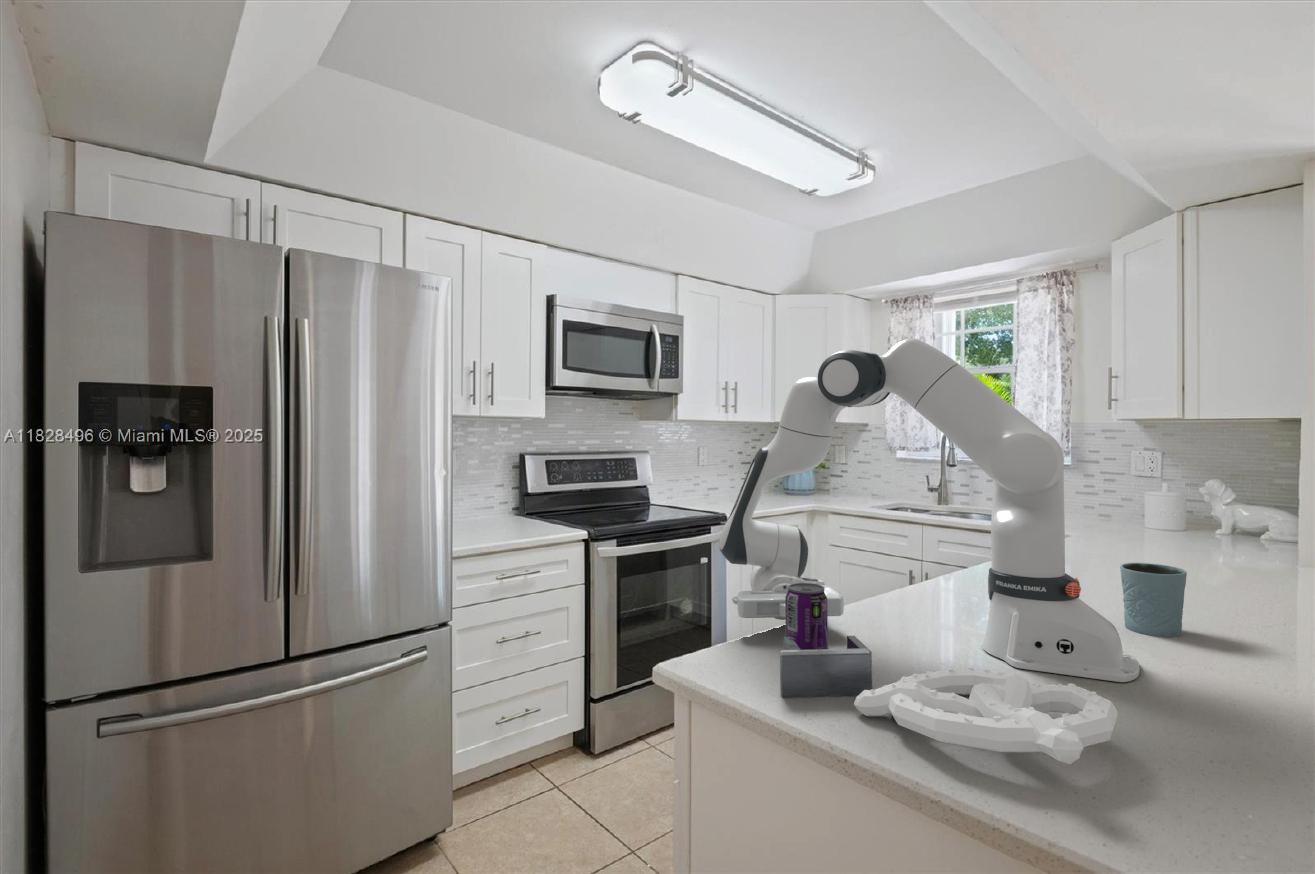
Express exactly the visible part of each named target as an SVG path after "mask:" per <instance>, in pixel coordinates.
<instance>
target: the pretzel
mask: <svg viewBox="0 0 1315 874" xmlns="http://www.w3.org/2000/svg"><path fill="white" fill-rule="evenodd" d="M991 670H992V669H985V670H979V669H975V667H973V666H972V667H967V669H955V668H954V667H951V668H950V667H949V668H948V669H941V670H940V669H939V670H936V671H935V670H934V671H932V670H931V669H926V672H925V673H912V674H911V675H909V676H902V677H901V678H900V679H899V680H898V681H896V682H893V683H890V684H885V685H884V684H883V685H882V687H878V688H875V689H873V688H872V689H871V690H864V691H863V692H862V693H860V694H859V695H858V696H855V699H854V702H853V705H854V707H855V708H856V710H857V711H859V713H861V714H862V715H864V716H865V717H888V716H890V715H892V716H893V719H894V721H895V723H897V726H901V727H902V728H903V727H904V728H906V729H908V730H911V731H913V732H915V733H918V734H921V735H923V736H926V737H929V739H933V740H936V741H938V742H941V743H945V744H951V745H957V746H962V747H968V748H974V749H979V750H980V749H981V750H986V751H992V752H999V753H1045V754H1046V755H1048V756H1050V757H1051V758H1054V759H1055V760H1056V761H1059V762H1061V763H1064V764H1066V765H1067V764H1068V765H1071V764H1074V762H1076V761H1078V760H1079V759H1080V758H1081V754H1082V752H1083V751H1084V748H1085V747H1089V746H1093V745H1096V744H1101V743H1104V742H1107V741H1110V740H1111V737H1112V734H1113V732H1114V729H1115V725H1116V721H1117V717H1118V714H1119V712H1118V710H1117V708H1116V707H1115V705H1114V704H1113V702H1112V701H1111V700H1109V699H1107V698H1105V697H1102V696H1101V695H1098V694H1097V692H1096V691H1090V690H1088V689H1085V688H1083V687H1082V686H1081V687H1080V686H1077V685H1076V684H1075V683H1070V682H1069V683H1068V684H1067V685H1064V684H1063V683H1060V682H1059V683H1058V684H1050V683H1049V684H1038V683H1036V684H1035V683H1034V686H1031V685H1030V683H1029V681H1028V680H1027V679H1026V678H1024V677H1021V676H1020V675H1019V676H1018V675H1016V674H1006V673H1004V672H1002V671H1001V672H1000V671H998V672H992V671H991ZM961 695H962V696H961ZM964 695H965V696H966V695H967V696H969V697H968V698H967V697H964ZM1052 712H1053V713H1060V714H1061V717H1057V718H1052V717H1051V716H1050V714H1048V713H1052Z"/></svg>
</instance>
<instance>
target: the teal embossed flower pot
mask: <svg viewBox="0 0 1315 874" xmlns="http://www.w3.org/2000/svg"><path fill="white" fill-rule="evenodd" d="M1119 568H1120V569H1119V570H1120V579H1121V586H1122V595H1123V598H1122V600H1123V608H1124V611H1123V612H1124V617H1123V619H1124V626H1125V629H1127V630H1129V631H1132V632H1134V633H1138V634H1142V635H1146V636H1151V637H1152V636H1153V637H1158V638H1177V637H1179V636H1181V635H1182V629H1183V615H1184V614H1183V613H1184V610H1183V609H1184V602H1185V588H1186V584H1187V575H1188V573H1187V570H1185V569H1183V568H1181V567H1176V566H1171V565H1166V564H1158V563H1150V562H1126V563H1122V564H1120V566H1119Z"/></svg>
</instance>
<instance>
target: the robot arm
mask: <svg viewBox="0 0 1315 874" xmlns="http://www.w3.org/2000/svg"><path fill="white" fill-rule="evenodd" d="M890 394H894V395H896V396H898V397H899V398H901V399H902V400H903V401H905V402H906V403H907V404H908V405H909V406H910V407H912V408H913V409H914V410H915V411H916V412H917V413H919V414H920V415H921V416H922V417H923V418H925V419H926V420H927V421H928V422H930V423H931V424H932V425H933V426H934V427H935V428H936V429H937V430H939V431H940V432H941V433H942V434H944V436H946V438H948V439H949V440H950V441H951V442H952V443H954V444H955V445H956V447H958V449H960V450H961V451H962V453H964V454H965V455H966V456H967V457H968V458H969V459H970V460H971V461H972V462H973V463H974V464H975V465H977V466H978V467H979V468H980V469H981V470H982V471H983V472H985V474H987V476H989V477H990V478H991V479H992V494H991V495H992V499H991V517H990V541H991V542H990V551H991V554H990V558H991V566H990V568H989V569H988V574H987V595H988V599H989V600H990V601H989V603H990V604H989V613H988V618H987V625H986V630H985V633H984V637H983V639H982V640H983V641H982V643H981V648H982V649H983V650H984V651H985V652H986V653H987V654H990V655H991V656H994V657H996V658H998V659H1001V660H1003V661H1005V662H1006V663H1007V664H1009V665H1010V666H1012V667H1014V668H1017V669H1022V670H1029V671H1037V672H1044V673H1051V674H1052V673H1053V674H1058V675H1067V676H1073V677H1080V678H1081V677H1082V678H1087V679H1095V680H1103V681H1110V682H1117V683H1126V682H1131V681H1133V680H1136V679H1137V678H1138V677H1139V675H1140V671H1141V670H1140V662H1139V661H1138V659H1137V658H1136V657H1135V656H1133V655H1132V654H1130V653H1128V652H1126V651H1123V645H1122V640H1121V637H1120V633H1119V632H1118V630H1117V628H1116V626H1115V625H1114V624H1113V623H1112V622H1111V621H1110V620H1109V619H1108V618H1106V617H1105V616H1104V615H1102V614H1101V613H1099V612H1098V611H1097V610H1096V609H1094V608H1093V607H1091V606H1090V605H1089V604H1087V602H1085V601H1083V600H1082V599H1081V598H1080V596H1081V595H1080V594H1081V591H1082V587H1081V586H1080V584H1081V583H1080V581H1079V579H1078V578H1077V577H1075V578H1074V577H1073V576H1071V575H1070V574H1068V573H1066V544H1065V543H1066V537H1065V535H1066V534H1065V533H1066V532H1065V530H1066V529H1065V528H1066V527H1065V491H1064V490H1065V484H1064V483H1065V478H1064V477H1065V474H1064V472H1065V471H1064V470H1065V469H1064V468H1065V467H1064V466H1065V465H1064V464H1065V457H1064V453H1063V449H1062V447H1061V445H1060V443H1059V442H1058V441H1057V439H1056V438H1055V437H1054V436H1053V435H1051V434H1049V433H1048V432H1047V431H1045V430H1043V429H1042V428H1041V427H1039V426H1038V425H1037V424H1036V423H1034V422H1033V421H1032V420H1030V419H1029V418H1028V417H1027V416H1025V415H1024V414H1023V413H1022V412H1021V411H1020V410H1018V409H1017V408H1015V407H1014V406H1013V405H1012V404H1010V403H1009V402H1008V401H1007V400H1005V399H1004V398H1003V397H1001V395H999V394H998V393H997V392H996V391H994V390H993V389H992V388H990V387H989V386H988V385H986V384H985V383H984V382H982V381H981V380H980V379H979V378H977V376H975V375H974V374H972V373H971V372H970V371H969V370H967V369H966V368H965V367H964V366H963V365H961V364H959V362H956V361H955V360H954V359H953V358H952V357H950V356H949V355H947V354H946V353H944V352H943V351H941V350H939V349H938V348H936V347H934V346H932V344H931V345H930V344H929V343H926V342H924V341H923V340H920V339H918V338H912V337H910V338H906V339H905V338H904V339H903V340H900V341H898V342H897V343H895V344H894V345H893V346H891V348H889V350H888V351H887V352H886V353H883V354H882V355H879V354H877V353H873V352H868V351H864V350H855V349H844V350H840V351H836V352H835V353H832V354H831V355H829V356H828V357H827V358H826V359H824V360H823V362H822V363H821V365H820V367H819V369H818V372H817V376H816V377H815V376H807V377H806V376H805V377H802V378H800V379H798V380H796V381H794V383H793V384H792V386H791V388H790V391H789V393H788V395H787V398H786V401H785V402H784V406H783V409H782V412H781V416H780V420H779V424H778V429H777V432H776V433H775V435H774V437H773V438H772V440H771V441H770V443H769V444H767V445H766V446H763V447H760V448H759V449H758V451H757V452H756V454H755V455H754V457H753V459H752V460H751V464H750V466H749V468H748V470H747V472H746V475H745V478H744V480H743V482H742V485H741V487H740V489H739V492H738V494H737V498H736V500H735V502H734V505H733V508H732V509H731V512H730V513H729V516H728V518H727V520H726V522H725V524H724V526H723V528H722V530H721V533H720V536H719V551H720V552H721V554H722V556H723V557H724V558H725V559H726V560H727V561H728V562H729V563H730V564H731V565H742V566H743V565H744V566H746V565H749V566H754V568H753V569H752V571H751V573H750V578H749V579H750V588H751V590H743V591H738V593H737V596H732V597H731V598H732V599H731V600H732V603H733V604H734V605H737V614H738V617H740V618H743V619H758V618H759V619H760V618H761V619H763V618H764V619H765V618H769V619H770V618H773V619H775V620H780V621H782V620H784V621H786V613H785V597H786V594H787V592H788V590H789V589H788V586H789V585H791V584H796V583H811V584H817V585H821V586H823V587H824V592H825V595H826V597H827V609H828V617H841V616H843V614H844V611H845V609H844V607H845V606H844V605H845V604H844V597H843V596H842V595H841V593H839V592H838V591H837V590H836V589H835V588H833V587H831V586H828V585H826V583H825V581H824V580H822V579H816V578H808V577H802V576H803V574H804V573H805V570H806V568H807V565H808V564H807V563H808V560H809V559H808V558H809V545H808V542H807V539H806V537H805V536H804V533H803V532H802V531H801V529H800V528H799V527H797V526H793V525H787V524H783V523H775V522H767V521H762V520H756V519H753V515H754V513H755V510H756V508H757V506H758V503H759V501H760V499H761V496H762V493H763V491H764V489H765V487H766V486H768V484H769V483H771V482H773V481H774V480H777V479H780V478H783V477H786V476H791V475H797V474H802V473H807V472H809V471H811V470H813V469H815V468H816V467H818V466H819V465H820V464H821V463H823V462H824V461H825V459H826V458H827V456H828V453H829V449H830V447H831V443H832V438H833V434H834V429H835V424H836V423H837V418H838V416H839V414H840V413H841V411H842V410H844V409H845V408H863V407H864V408H865V407H869V406H874V405H877V404H880V403H881V402H883V401H884V400H886V399H887V398H888V397H889V396H890Z"/></svg>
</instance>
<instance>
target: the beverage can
mask: <svg viewBox="0 0 1315 874" xmlns="http://www.w3.org/2000/svg"><path fill="white" fill-rule="evenodd" d="M788 589H789V590H788V592H787V594H786V597H785V613H786V620H785V637H792V639H793V640H794V641H795V643H796V644H797V645H798V647H799V648H800V649H801V650H819V649H829V628H828V627H829V623H828V618H829V616H828V609H827V597H826V595H825V592H824V587H823V586H821V585H817V584H811V583H796V584H791V585H789V586H788Z"/></svg>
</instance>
